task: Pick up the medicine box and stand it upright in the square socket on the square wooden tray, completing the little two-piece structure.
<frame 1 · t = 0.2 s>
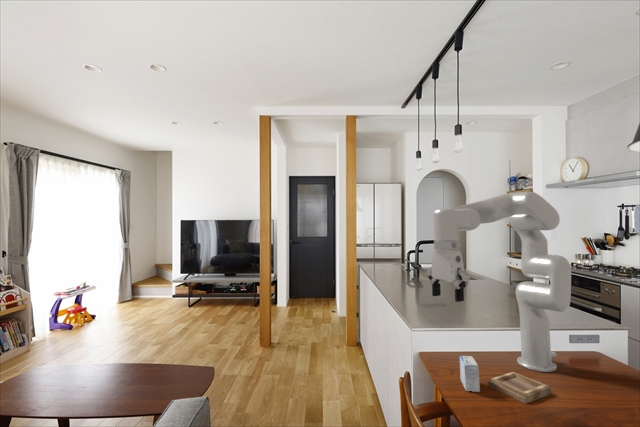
hand: (447, 298, 107), 30 cm above the table, tool pointing down, fingers open, 9 cm apart
medicine box: (469, 387, 110), on the table
square wooden tray: (519, 389, 107), on the table
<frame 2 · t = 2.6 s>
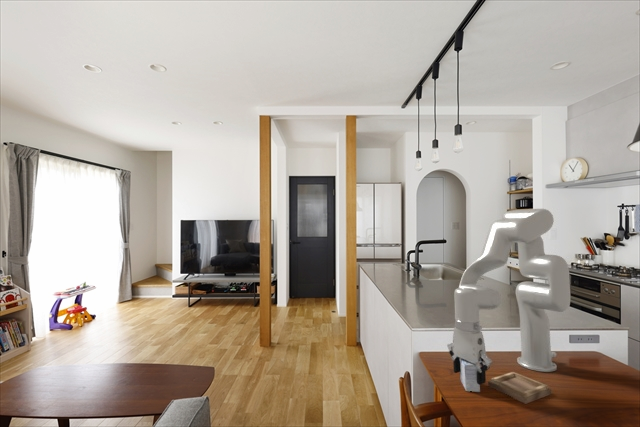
hand: (469, 377, 110), 3 cm above the table, tool pointing down, fingers closed on medicine box, 9 cm apart
medicine box: (469, 387, 110), on the table, touching gripper
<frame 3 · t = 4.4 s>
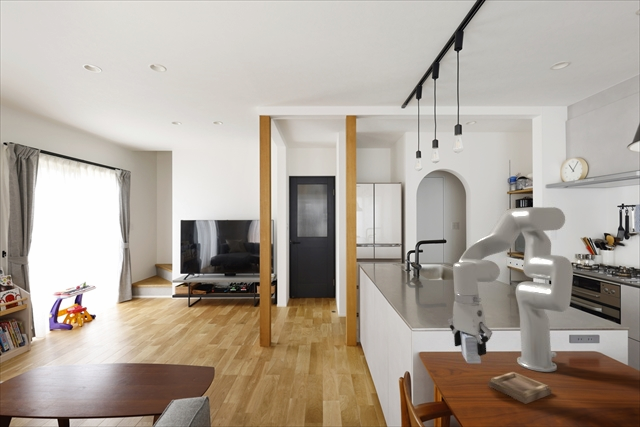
hand: (470, 349, 110), 12 cm above the table, tool pointing down, fingers closed on medicine box, 9 cm apart
medicine box: (470, 359, 110), point 9 cm above the table, touching gripper
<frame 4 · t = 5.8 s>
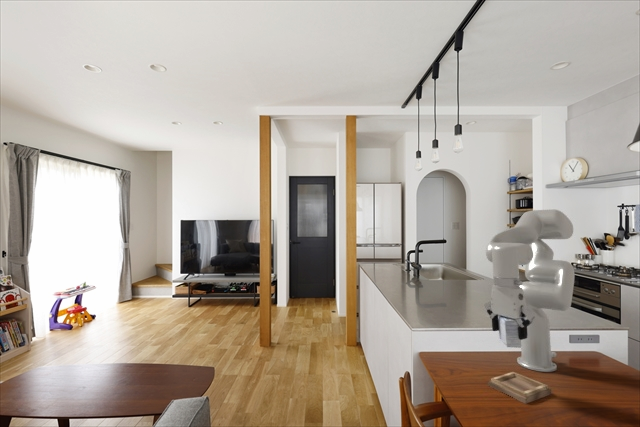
hand: (509, 334, 108), 18 cm above the table, tool pointing down, fingers closed on medicine box, 9 cm apart
medicine box: (510, 343, 108), point 14 cm above the table, touching gripper
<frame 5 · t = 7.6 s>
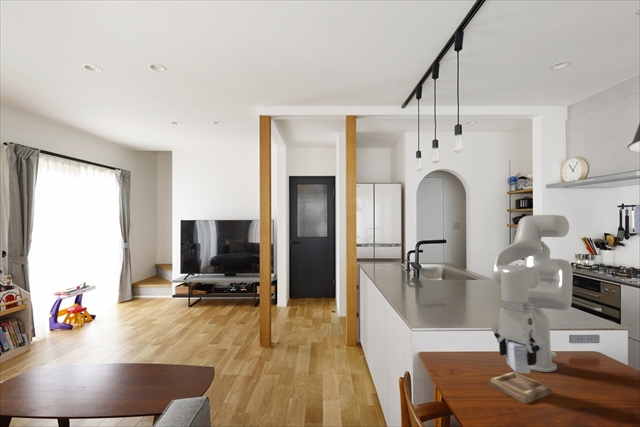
hand: (517, 359, 107), 10 cm above the table, tool pointing down, fingers closed on medicine box, 9 cm apart
medicine box: (518, 369, 107), point 7 cm above the table, touching gripper
when the fingers open (5 cm above the table, at t = 9.2 s): medicine box stays where it is, resting on square wooden tray.
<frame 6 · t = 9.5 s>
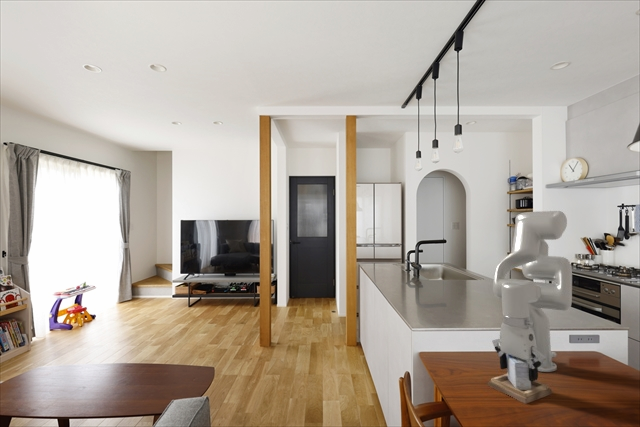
hand: (518, 374, 107), 5 cm above the table, tool pointing down, fingers open, 9 cm apart
medicine box: (518, 385, 107), point 1 cm above the table, touching square wooden tray, gripper
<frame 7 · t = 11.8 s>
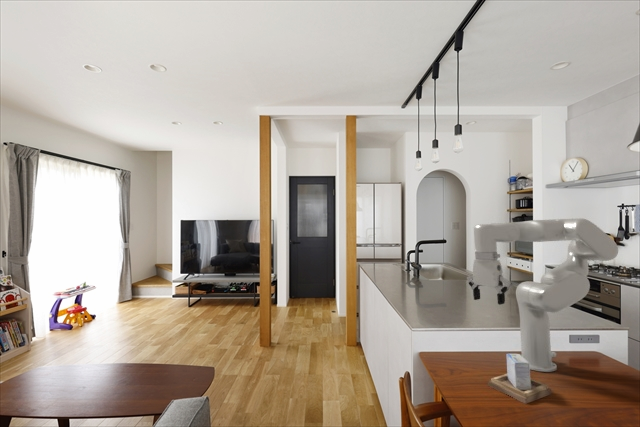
hand: (488, 301, 124), 25 cm above the table, tool pointing down, fingers open, 9 cm apart
medicine box: (518, 385, 107), point 1 cm above the table, touching square wooden tray
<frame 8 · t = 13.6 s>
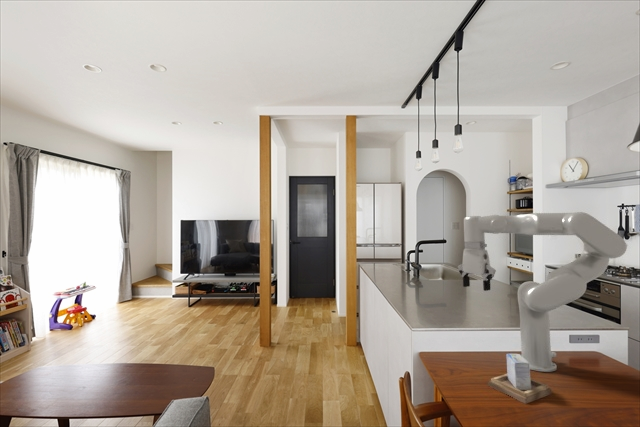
hand: (476, 288, 133), 28 cm above the table, tool pointing down, fingers open, 9 cm apart
nothing on the table moved.
at the end: medicine box 0.4 cm off-centre on the square wooden tray, point 1.3 cm above the square wooden tray's base; medicine box tilted 0°; the gripper is holding nothing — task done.
